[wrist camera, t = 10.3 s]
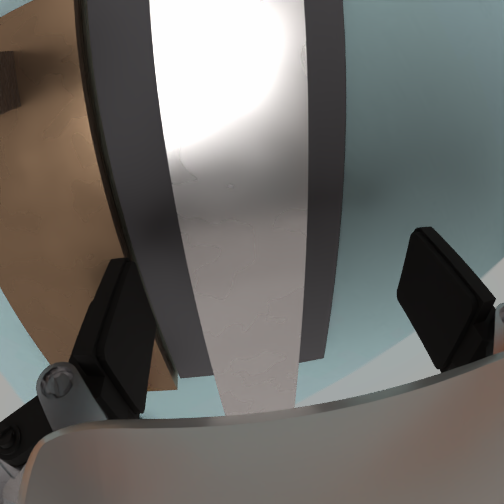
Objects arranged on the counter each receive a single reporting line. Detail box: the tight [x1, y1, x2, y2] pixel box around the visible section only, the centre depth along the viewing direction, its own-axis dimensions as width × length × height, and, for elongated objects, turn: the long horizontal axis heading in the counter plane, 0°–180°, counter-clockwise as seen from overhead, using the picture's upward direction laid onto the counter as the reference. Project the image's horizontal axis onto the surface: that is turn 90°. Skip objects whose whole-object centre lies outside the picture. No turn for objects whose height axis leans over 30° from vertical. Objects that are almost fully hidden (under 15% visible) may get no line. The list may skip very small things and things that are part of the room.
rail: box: [149, 0, 308, 416], centre depth 12 cm, size 4×22×4 cm, turn 3°
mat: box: [87, 0, 346, 378], centre depth 14 cm, size 10×22×1 cm, turn 4°
